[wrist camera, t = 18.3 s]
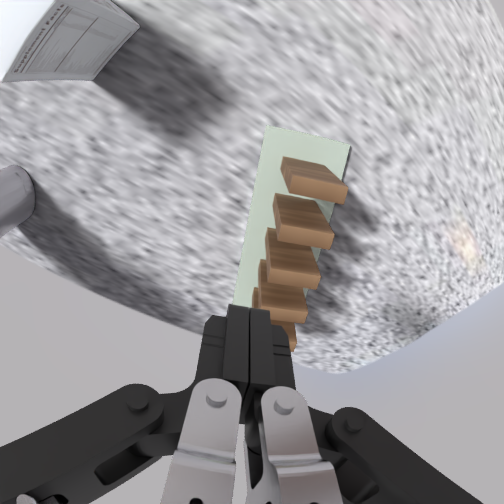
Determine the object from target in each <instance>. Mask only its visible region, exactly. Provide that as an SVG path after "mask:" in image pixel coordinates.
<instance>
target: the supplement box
mask: <svg viewBox="0 0 504 504" xmlns="http://www.w3.org/2000/svg"><path fill="white" fill-rule="evenodd" d="M139 28H140V25H139V24H138V23H137V22H136V21H134V20H133V19H132V18H131V17H130V16H129V15H128V14H126V13H125V12H124V11H123V10H122V9H120V8H119V7H118V6H117V5H115V4H114V3H113V2H111V1H110V0H0V81H1V82H2V83H3V82H17V81H35V80H84V81H92V80H93V79H94V78H95V77H96V76H97V74H98V73H99V72H100V71H101V70H102V68H103V67H104V66H105V65H106V64H107V62H108V61H109V60H110V59H111V58H112V57H113V55H114V54H115V53H116V52H117V51H118V50H119V49H120V48H121V46H122V45H123V44H124V43H125V42H126V41H127V40H128V39H129V38H130V37H131V36H132V35H133V34H134V33H135V32H136V31H137V30H138V29H139Z"/></svg>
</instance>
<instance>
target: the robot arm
mask: <svg viewBox="0 0 504 504" xmlns="http://www.w3.org/2000/svg"><path fill="white" fill-rule="evenodd" d="M34 206H35V190H34V187H33V183H32V181H31V179H30V177H29V175H28V174H27V173H26V172H25V170H24V169H22V168H21V167H19V166H16V165H11V166H8V167H6V168H3V169H1V170H0V238H1V237H2V236H4V235H5V234H6V233H8V232H9V231H10V230H12V229H13V228H15V227H16V226H18V225H19V224H20V223H22V222H23V221H25V220H26V219H28V218H29V217H30V216H31V214H32V213H33V210H34ZM239 424H245V440H244V455H245V468H246V480H247V497H246V504H483V503H482V502H481V501H479V500H478V499H476V498H475V497H473V496H472V495H471V494H469V493H468V492H466V491H465V490H464V489H462V488H461V487H460V486H458V485H457V484H455V483H454V482H453V481H451V480H450V479H449V478H447V477H445V476H444V475H443V474H442V473H441V472H439V471H438V470H436V469H435V468H434V467H433V466H431V465H430V464H429V463H427V462H426V461H425V460H423V459H422V458H421V457H420V456H418V455H417V454H416V453H414V452H413V451H412V450H411V449H409V448H408V447H407V446H405V445H404V444H403V443H402V442H400V441H399V440H398V439H397V438H395V437H394V436H393V435H392V434H390V433H389V432H388V431H387V430H385V429H384V428H383V427H382V426H380V425H379V424H378V423H377V422H376V421H375V420H373V419H372V418H371V417H369V416H368V415H367V414H366V413H365V412H363V411H362V410H360V409H357V408H353V407H345V408H341V409H339V410H338V411H337V412H335V414H334V415H332V414H329V413H325V412H322V411H319V410H316V409H313V408H311V407H309V406H308V405H307V402H306V400H305V398H304V397H303V396H302V395H301V394H300V393H299V392H298V391H296V387H295V380H294V373H293V365H292V358H291V351H290V344H289V337H288V335H287V333H286V332H285V330H284V329H283V327H282V326H280V325H273V324H271V319H270V311H269V310H264V309H257V308H251V307H250V308H249V307H245V306H239V305H233V304H229V305H228V310H227V315H226V317H221V316H216V315H212V316H211V317H210V318H209V320H208V321H207V322H206V323H205V327H204V332H203V338H202V344H201V349H200V354H199V360H198V365H197V371H196V376H195V380H194V382H193V383H192V384H191V385H190V386H189V387H188V388H187V389H185V390H183V391H180V392H177V393H168V394H159V393H158V392H157V391H155V390H154V389H153V388H151V387H149V386H147V385H143V384H129V385H126V386H124V387H122V388H120V389H118V390H116V391H114V392H112V393H111V394H109V395H107V396H105V397H103V398H101V399H99V400H97V401H95V402H93V403H92V404H90V405H88V406H86V407H84V408H82V409H80V410H78V411H76V412H74V413H72V414H70V415H68V416H66V417H64V418H62V419H60V420H58V421H56V422H54V423H52V424H50V425H48V426H46V427H43V428H41V429H39V430H37V431H35V432H33V433H31V434H29V435H26V436H24V437H22V438H20V439H18V440H15V441H13V442H11V443H9V444H6V445H4V446H2V447H0V504H89V503H91V502H92V501H94V500H96V499H98V498H99V497H101V496H103V495H104V494H106V493H108V492H109V491H111V490H113V489H115V488H116V487H118V486H119V485H121V484H123V483H124V482H126V481H128V480H129V479H131V478H132V477H134V476H135V475H137V474H138V473H140V472H141V471H143V470H144V469H146V468H147V467H149V466H150V465H152V464H153V463H155V462H156V461H158V460H159V459H160V458H161V457H162V456H167V455H173V457H172V461H171V465H170V468H169V473H168V476H167V480H166V484H165V488H164V492H163V496H162V500H161V504H232V497H233V489H234V481H235V472H236V462H235V449H236V442H237V433H238V425H239Z"/></svg>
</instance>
